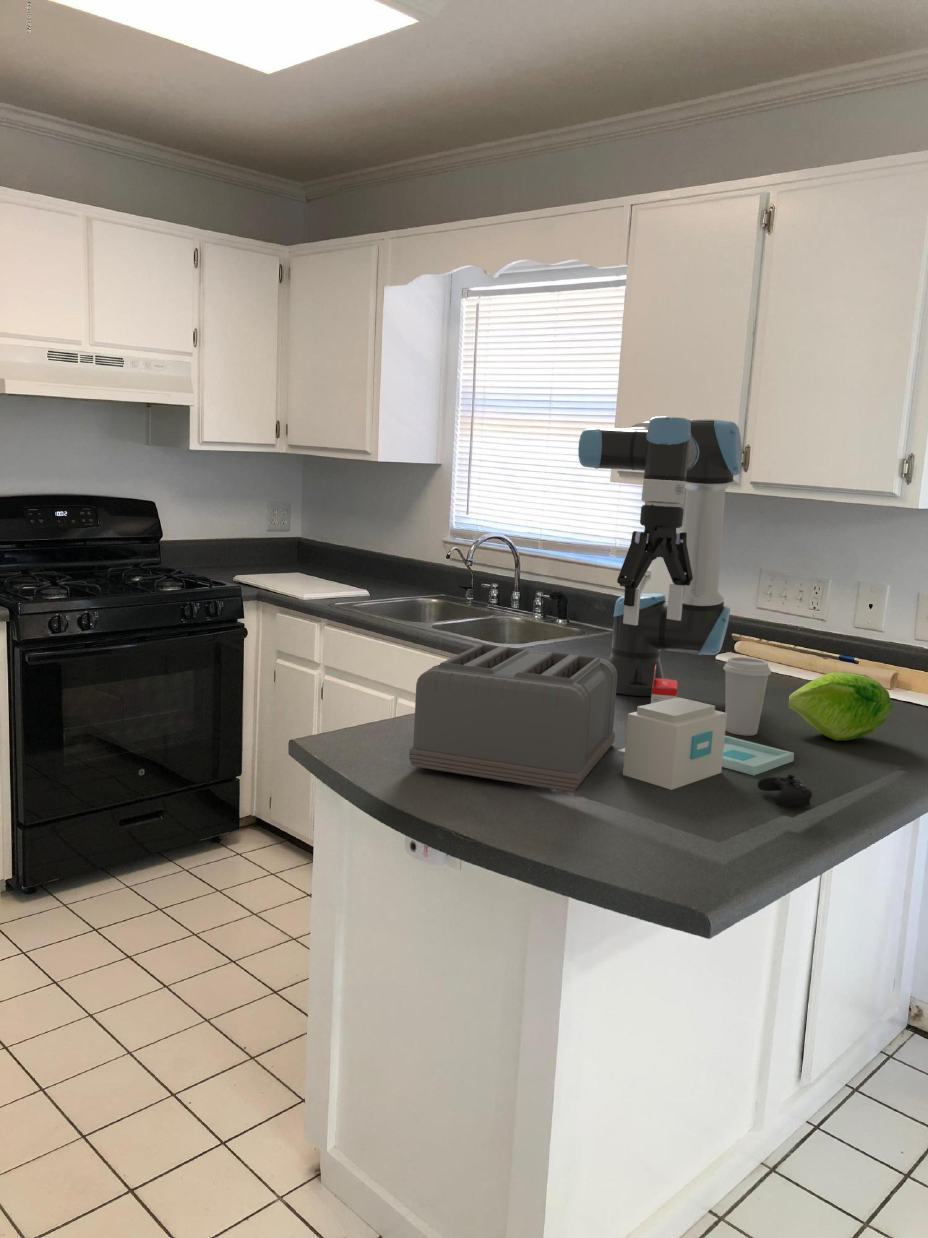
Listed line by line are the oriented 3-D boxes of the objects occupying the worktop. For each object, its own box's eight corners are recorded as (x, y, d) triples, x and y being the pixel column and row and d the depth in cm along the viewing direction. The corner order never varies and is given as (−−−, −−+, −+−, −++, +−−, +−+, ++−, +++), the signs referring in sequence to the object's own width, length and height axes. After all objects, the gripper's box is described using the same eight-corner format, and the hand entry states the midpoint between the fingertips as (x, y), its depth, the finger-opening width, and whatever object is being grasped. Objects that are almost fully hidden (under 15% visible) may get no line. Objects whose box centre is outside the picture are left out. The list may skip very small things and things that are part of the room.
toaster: (618, 740, 201) (626, 651, 198) (577, 793, 167) (585, 686, 164) (474, 720, 210) (479, 635, 208) (407, 765, 177) (412, 665, 174)
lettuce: (788, 722, 223) (795, 661, 221) (887, 735, 216) (895, 672, 213) (783, 737, 209) (790, 672, 207) (888, 752, 202) (896, 685, 200)
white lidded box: (609, 770, 180) (614, 703, 178) (660, 755, 191) (665, 692, 189) (674, 790, 170) (680, 720, 169) (723, 773, 182) (730, 707, 180)
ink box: (672, 747, 197) (679, 673, 195) (647, 745, 198) (653, 671, 196) (672, 736, 205) (679, 665, 203) (648, 734, 206) (654, 663, 204)
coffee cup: (768, 730, 215) (775, 660, 212) (760, 740, 206) (768, 667, 204) (722, 723, 219) (728, 654, 216) (713, 732, 210) (720, 661, 208)
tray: (681, 755, 192) (682, 747, 192) (723, 742, 203) (723, 735, 202) (753, 775, 182) (754, 766, 181) (793, 761, 192) (794, 753, 192)
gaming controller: (753, 782, 172) (781, 760, 172) (771, 805, 173) (799, 783, 173) (774, 802, 162) (804, 779, 162) (793, 826, 163) (823, 803, 163)
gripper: (638, 504, 171) (628, 629, 174) (718, 507, 188) (707, 620, 191) (603, 502, 176) (593, 623, 179) (683, 504, 193) (673, 614, 197)
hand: (652, 622), depth 185 cm, fingers open, 13 cm apart
